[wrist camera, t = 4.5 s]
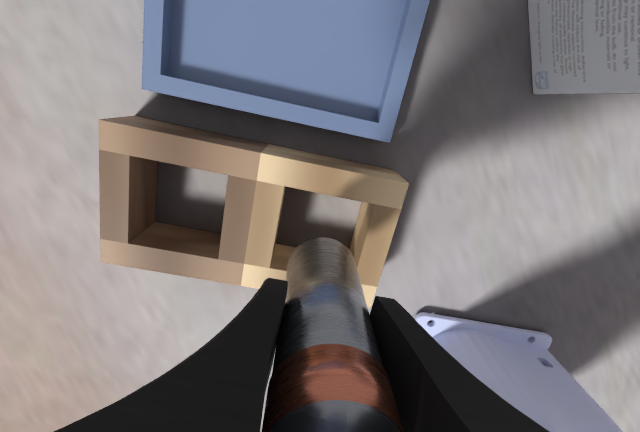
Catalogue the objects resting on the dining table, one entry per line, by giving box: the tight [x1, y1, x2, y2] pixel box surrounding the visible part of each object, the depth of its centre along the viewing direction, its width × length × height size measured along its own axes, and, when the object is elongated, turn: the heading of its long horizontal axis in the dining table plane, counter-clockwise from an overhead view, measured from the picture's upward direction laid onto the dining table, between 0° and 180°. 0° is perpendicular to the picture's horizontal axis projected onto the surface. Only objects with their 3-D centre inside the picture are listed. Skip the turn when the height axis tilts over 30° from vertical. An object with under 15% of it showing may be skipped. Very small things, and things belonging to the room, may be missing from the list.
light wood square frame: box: [241, 144, 409, 307], centre depth 18 cm, size 7×7×3 cm
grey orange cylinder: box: [262, 237, 403, 432], centre depth 10 cm, size 3×3×8 cm
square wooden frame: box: [99, 116, 269, 286], centre depth 17 cm, size 7×7×3 cm
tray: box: [142, 0, 430, 143], centre depth 15 cm, size 12×8×1 cm, turn 78°
